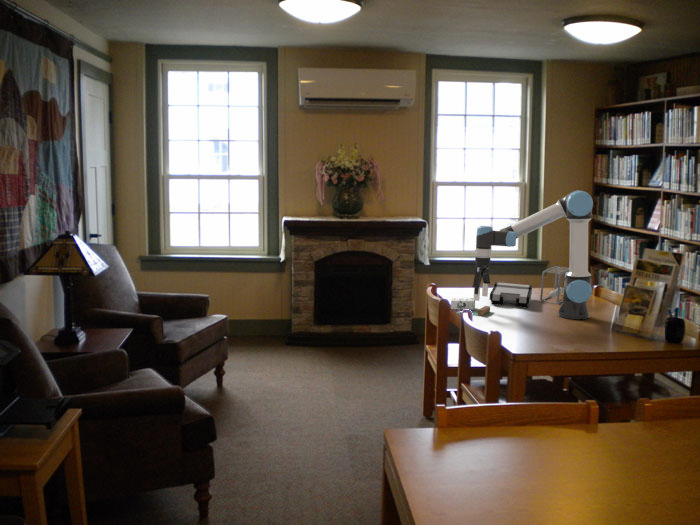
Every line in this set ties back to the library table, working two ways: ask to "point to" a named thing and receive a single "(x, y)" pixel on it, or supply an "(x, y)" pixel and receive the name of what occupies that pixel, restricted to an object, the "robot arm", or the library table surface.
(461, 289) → the library table surface
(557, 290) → the newton's cradle
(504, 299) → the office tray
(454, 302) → the ink box
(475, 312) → the felt mat
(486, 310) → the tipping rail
